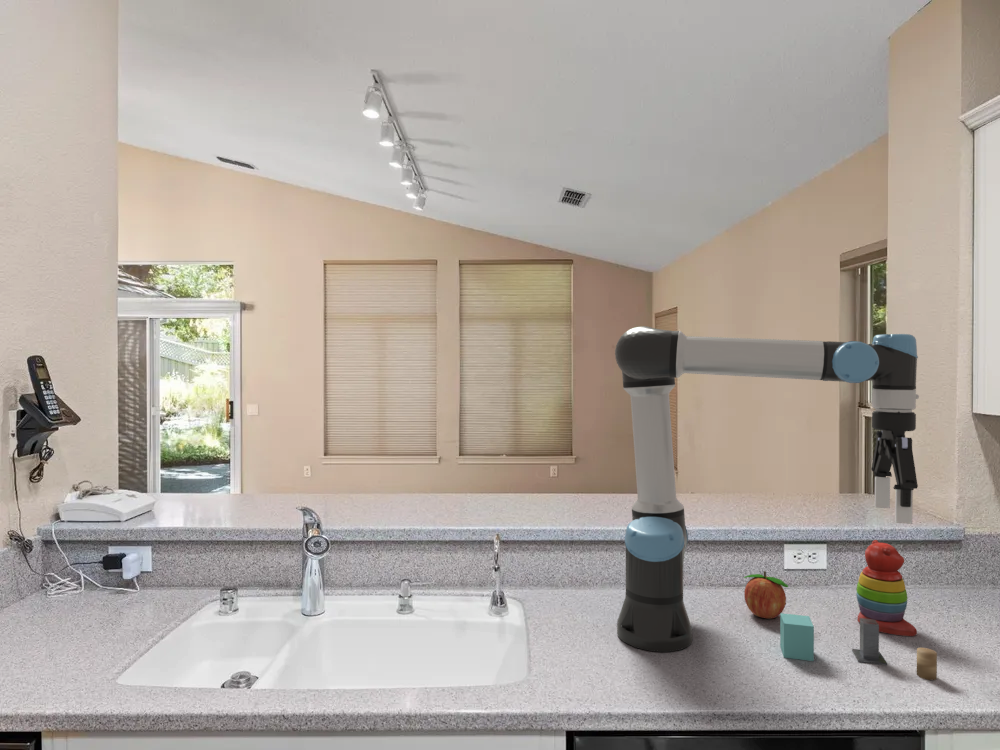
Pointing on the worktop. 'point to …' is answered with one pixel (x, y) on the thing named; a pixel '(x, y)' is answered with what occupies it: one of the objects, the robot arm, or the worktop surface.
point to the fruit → (765, 595)
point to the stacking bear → (884, 590)
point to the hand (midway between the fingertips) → (892, 515)
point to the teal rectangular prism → (797, 637)
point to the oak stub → (927, 663)
